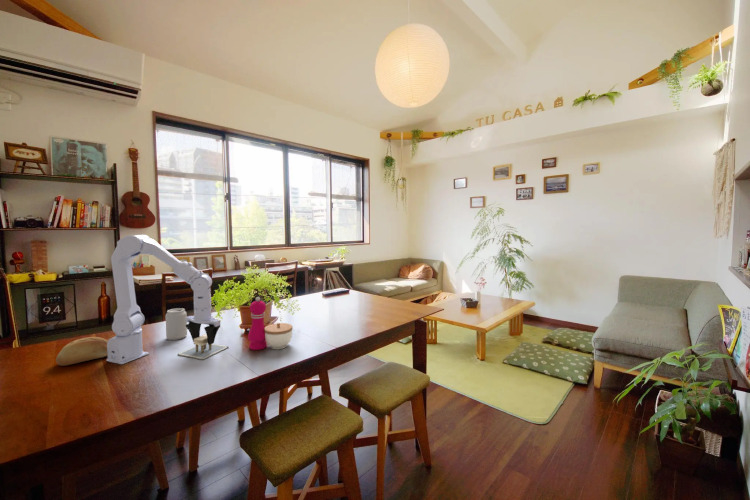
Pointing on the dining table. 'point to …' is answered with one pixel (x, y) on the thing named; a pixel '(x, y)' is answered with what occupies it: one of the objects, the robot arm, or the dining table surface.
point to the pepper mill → (257, 325)
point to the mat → (207, 351)
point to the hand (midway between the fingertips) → (203, 342)
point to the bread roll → (82, 351)
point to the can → (176, 324)
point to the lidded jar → (278, 335)
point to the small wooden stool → (201, 343)
